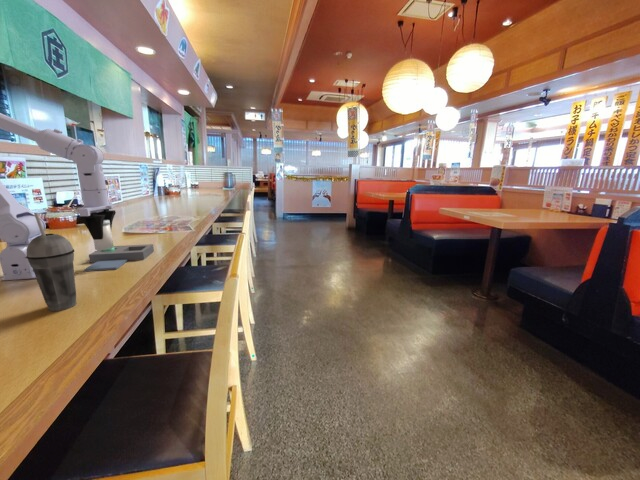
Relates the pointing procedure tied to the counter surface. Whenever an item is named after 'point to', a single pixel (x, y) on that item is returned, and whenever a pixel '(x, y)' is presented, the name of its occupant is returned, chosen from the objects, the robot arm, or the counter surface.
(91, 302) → the counter surface
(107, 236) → the cylinder
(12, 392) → the counter surface
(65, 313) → the counter surface
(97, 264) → the mat
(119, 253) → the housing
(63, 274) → the beverage cup
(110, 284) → the counter surface
